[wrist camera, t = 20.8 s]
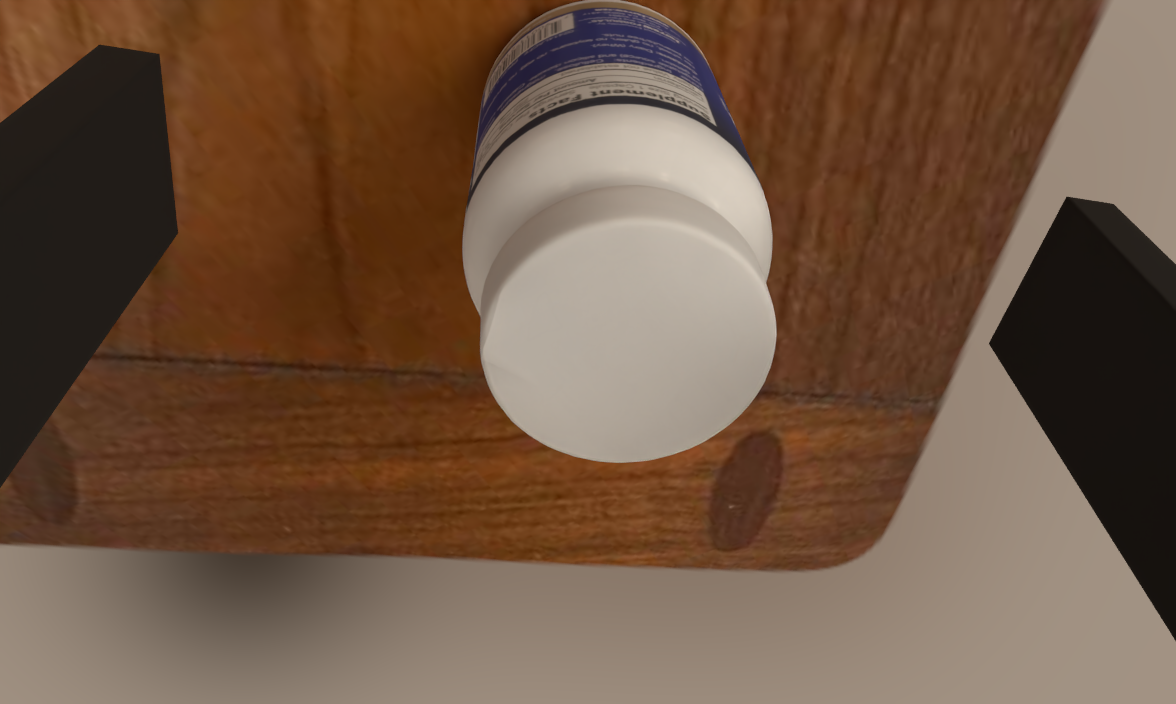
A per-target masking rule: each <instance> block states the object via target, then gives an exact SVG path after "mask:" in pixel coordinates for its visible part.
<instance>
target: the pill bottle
mask: <svg viewBox="0 0 1176 704" xmlns="http://www.w3.org/2000/svg"><path fill="white" fill-rule="evenodd" d="M462 252H463V265H464V272H465V277H466V281H467V286H468V289H469V292H470V295H471V298H472V300H473V302H474V304H475V306H476V309H477V311H478V313H479V315H480V316H481V331H480V355H481V363H482V367H483V370H484V373H485V377H486V380H487V383H488V386H489V388H490V390H491V392H492V394H493V396H494V397H495V399H496V401H497V403H498V404H499V405H500V407H501V408H502V409H503V411H504V412H505V413H506V414H507V416H508V417H509V418H510V419H511V421H512V422H513V423H515V424H516V425H517V426H518V427H519V428H521V429H522V430H523V431H524V432H526V433H527V434H528V435H530V436H531V437H533V438H534V439H536V440H538V441H539V442H541V443H543V444H544V445H546V446H548V447H550V448H553V449H555V450H558V451H560V452H563V453H566V454H569V455H572V456H574V457H579V458H584V459H589V460H593V461H601V462H615V463H625V462H638V461H647V460H653V459H657V458H661V457H665V456H669V455H673V454H676V453H679V452H682V451H685V450H687V449H690V448H692V447H694V446H696V445H698V444H701V443H703V442H705V441H706V440H708V439H709V438H711V437H713V436H714V435H716V434H717V433H719V432H720V431H721V430H723V429H724V428H726V427H727V426H728V425H729V424H731V423H732V422H733V421H734V420H735V419H736V418H738V417H739V416H740V415H741V414H742V412H743V411H744V410H745V409H746V408H747V407H748V406H749V405H750V403H751V402H752V401H753V399H754V398H755V397H756V395H757V394H758V392H759V391H760V389H761V387H762V385H763V384H764V382H765V380H766V377H767V374H768V372H769V370H770V367H771V364H772V360H773V356H774V351H775V344H776V319H775V313H774V307H773V304H772V301H771V297H770V294H769V291H768V288H767V285H766V281H767V278H768V274H769V270H770V264H771V258H772V227H771V219H770V214H769V209H768V205H767V202H766V199H765V196H764V191H763V189H762V186H761V184H760V181H759V179H758V177H757V175H756V173H755V170H754V168H753V166H752V163H751V161H750V159H749V156H748V154H747V152H746V150H745V147H744V145H743V143H742V140H741V138H740V135H739V133H738V131H737V129H736V126H735V124H734V121H733V119H732V117H731V115H730V112H729V110H728V108H727V105H726V103H725V101H724V98H723V96H722V93H721V91H720V89H719V87H718V84H717V82H716V80H715V77H714V75H713V73H712V71H711V68H710V66H709V64H708V62H707V60H706V58H705V57H704V55H703V53H702V52H701V50H700V49H699V47H698V46H697V45H696V43H695V42H694V41H693V40H692V39H691V38H690V37H689V35H688V34H687V33H686V32H684V31H683V30H682V29H681V28H680V27H679V26H677V25H676V24H675V23H674V22H673V21H671V20H670V19H668V18H666V17H665V16H663V15H661V14H660V13H658V12H656V11H653V10H651V9H649V8H647V7H644V6H641V5H638V4H636V3H631V2H627V1H621V0H584V1H579V2H574V3H570V4H567V5H564V6H561V7H558V8H555V9H553V10H550V11H548V12H546V13H544V14H542V15H541V16H539V17H537V18H535V19H534V20H533V21H531V22H530V23H529V24H527V25H526V26H525V27H524V28H522V29H521V30H520V31H519V32H518V33H517V34H516V35H515V36H514V37H513V38H512V39H511V40H510V42H509V43H508V44H507V45H506V46H505V48H504V49H503V50H502V52H501V53H500V55H499V56H498V58H497V59H496V61H495V63H494V65H493V67H492V69H491V71H490V74H489V76H488V79H487V82H486V85H485V88H484V92H483V97H482V102H481V110H480V116H479V123H478V132H477V139H476V147H475V155H474V163H473V170H472V176H471V182H470V189H469V196H468V201H467V207H466V214H465V222H464V230H463V245H462Z"/></svg>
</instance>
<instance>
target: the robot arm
mask: <svg viewBox="0 0 1176 704" xmlns="http://www.w3.org/2000/svg"><path fill="white" fill-rule="evenodd" d="M177 234H178V229H177V220H176V210H175V200H174V191H173V181H172V172H171V162H170V152H169V143H168V133H167V123H166V114H165V104H164V95H163V85H162V75H161V66H160V56H159V54H156V53H149V52H143V51H137V50H130V49H124V48H117V47H111V46H105V45H98V46H97V47H96V48H95V49H93V50H92V51H91V52H90V53H88V54H87V55H86V56H84V57H83V58H82V59H81V60H79V61H78V62H77V63H76V64H74V65H73V66H72V67H71V68H69V69H68V70H67V71H66V72H64V73H63V74H62V75H60V76H59V77H58V78H57V79H55V80H54V81H53V82H52V83H50V84H49V85H48V86H47V87H45V88H44V89H43V90H41V91H40V92H39V93H38V94H36V95H35V96H34V97H33V98H31V99H30V100H29V101H28V102H26V103H25V104H24V105H22V106H21V107H20V108H19V109H17V110H16V111H15V112H14V113H12V114H11V115H10V116H9V117H7V118H6V119H5V120H4V121H2V122H1V123H0V487H1V486H2V484H3V483H4V482H5V480H6V479H7V477H8V476H9V474H10V473H11V472H12V470H13V469H14V467H15V466H16V464H17V463H18V462H19V460H20V459H21V457H22V456H23V454H24V453H25V452H26V450H27V449H28V447H29V446H30V444H31V443H32V441H33V440H34V439H35V437H36V436H37V434H38V433H39V431H40V430H41V429H42V427H43V426H44V424H45V423H46V421H47V420H48V419H49V417H50V416H51V414H52V413H53V411H54V410H55V409H56V407H57V406H58V404H59V403H60V401H61V400H62V399H63V397H64V396H65V394H66V393H67V391H68V390H69V388H70V387H71V386H72V384H73V383H74V381H75V380H76V378H77V377H78V376H79V374H80V373H81V371H82V370H83V368H84V367H85V366H86V364H87V363H88V361H89V360H90V358H91V357H92V356H93V354H94V353H95V351H96V350H97V348H98V347H99V346H100V344H101V343H102V341H103V340H104V338H105V337H106V335H107V334H108V333H109V331H110V330H111V328H112V327H113V325H114V324H115V323H116V321H117V320H118V318H119V317H120V315H121V314H122V313H123V311H124V310H125V308H126V307H127V305H128V304H129V303H130V301H131V300H132V298H133V297H134V295H135V294H136V293H137V291H138V290H139V288H140V287H141V285H142V284H143V283H144V281H145V280H146V278H147V277H148V275H149V274H150V272H151V271H152V270H153V268H154V267H155V265H156V264H157V262H158V261H159V260H160V258H161V257H162V255H163V254H164V252H165V251H166V250H167V248H168V247H169V245H170V244H171V242H172V241H173V240H174V238H175V237H176V235H177ZM989 344H990V346H991V348H992V349H993V351H994V352H995V354H996V356H997V357H998V359H999V360H1000V362H1001V364H1002V365H1003V367H1004V368H1005V370H1006V372H1007V373H1008V375H1009V376H1010V378H1011V379H1012V381H1013V383H1014V384H1015V386H1016V387H1017V389H1018V391H1019V392H1020V394H1021V395H1022V397H1023V398H1024V400H1025V402H1026V403H1027V405H1028V407H1029V408H1030V410H1031V411H1032V413H1033V414H1034V416H1035V418H1036V419H1037V421H1038V422H1039V424H1040V426H1041V427H1042V429H1043V430H1044V432H1045V434H1046V435H1047V437H1048V438H1049V440H1050V441H1051V443H1052V445H1053V446H1054V448H1055V450H1056V451H1057V453H1058V454H1059V456H1060V457H1061V459H1062V460H1063V462H1064V464H1065V465H1066V467H1067V469H1068V470H1069V471H1070V473H1071V475H1072V477H1073V478H1074V480H1075V481H1076V483H1077V485H1078V486H1079V488H1080V489H1081V491H1082V492H1083V494H1084V496H1085V497H1086V499H1087V500H1088V502H1089V504H1090V505H1091V507H1092V508H1093V510H1094V512H1095V513H1096V515H1097V516H1098V518H1099V520H1100V521H1101V523H1102V524H1103V526H1104V527H1105V529H1106V531H1107V532H1108V534H1109V535H1110V537H1111V539H1112V540H1113V542H1114V543H1115V545H1116V546H1117V548H1118V550H1119V551H1120V553H1121V554H1122V556H1123V558H1124V559H1125V561H1126V562H1127V564H1128V566H1129V567H1130V569H1131V570H1132V572H1133V574H1134V575H1135V577H1136V578H1137V580H1138V581H1139V583H1140V585H1141V586H1142V588H1143V590H1144V591H1145V593H1146V594H1147V596H1148V598H1149V599H1150V601H1151V602H1152V604H1153V605H1154V607H1155V609H1156V610H1157V612H1158V613H1159V615H1160V617H1161V618H1162V620H1163V621H1164V623H1165V625H1166V626H1167V628H1168V629H1169V631H1170V632H1171V634H1172V636H1173V637H1174V639H1175V640H1176V264H1175V263H1174V262H1173V261H1172V260H1171V259H1169V258H1168V257H1167V256H1166V255H1165V254H1164V253H1163V252H1162V251H1161V250H1160V249H1159V248H1158V247H1157V246H1156V245H1155V244H1154V243H1153V242H1152V241H1151V240H1150V239H1149V238H1148V237H1147V236H1146V235H1145V234H1144V233H1143V232H1142V231H1141V230H1140V229H1139V228H1138V227H1137V226H1135V224H1133V223H1132V222H1131V221H1130V220H1129V219H1128V218H1127V217H1126V216H1125V215H1124V214H1123V213H1122V212H1121V211H1120V210H1119V209H1118V208H1117V207H1116V206H1115V205H1114V204H1110V203H1104V202H1097V201H1091V200H1084V199H1078V198H1071V197H1066V199H1065V201H1064V203H1063V205H1062V206H1061V208H1060V210H1059V212H1058V214H1057V216H1056V218H1055V220H1054V222H1053V223H1052V226H1051V227H1050V229H1049V231H1048V233H1047V235H1046V237H1045V238H1044V240H1043V242H1042V244H1041V246H1040V248H1039V250H1038V252H1037V254H1036V255H1035V257H1034V259H1033V261H1032V263H1031V265H1030V267H1029V269H1028V271H1027V273H1026V274H1025V276H1024V278H1023V280H1022V282H1021V284H1020V286H1019V288H1018V290H1017V291H1016V294H1015V295H1014V297H1013V299H1012V301H1011V303H1010V305H1009V307H1008V308H1007V310H1006V312H1005V314H1004V316H1003V318H1002V320H1001V322H1000V324H999V326H998V327H997V329H996V331H995V333H994V335H993V337H992V339H991V341H990V343H989Z"/></svg>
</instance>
